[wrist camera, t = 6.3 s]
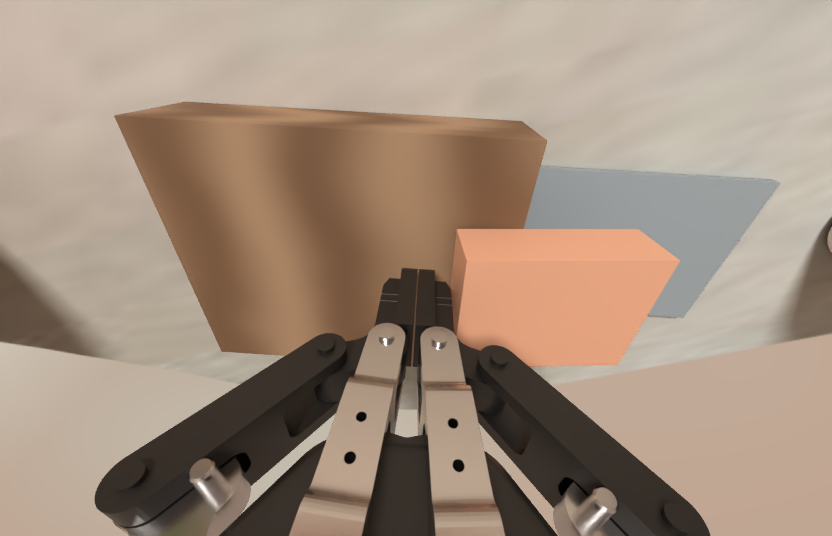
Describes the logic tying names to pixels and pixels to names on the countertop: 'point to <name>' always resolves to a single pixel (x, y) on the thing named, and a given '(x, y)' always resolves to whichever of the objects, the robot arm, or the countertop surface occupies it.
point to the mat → (656, 217)
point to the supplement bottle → (830, 240)
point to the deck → (321, 207)
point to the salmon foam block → (556, 291)
